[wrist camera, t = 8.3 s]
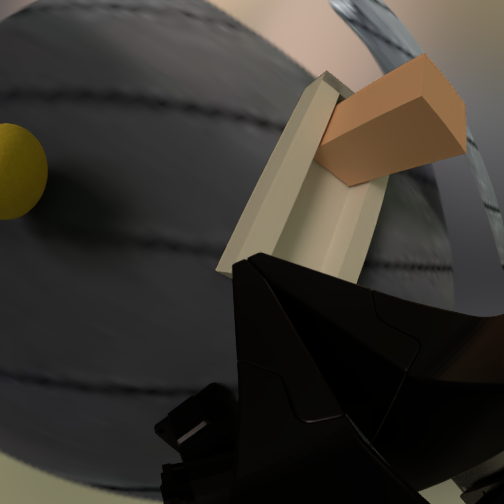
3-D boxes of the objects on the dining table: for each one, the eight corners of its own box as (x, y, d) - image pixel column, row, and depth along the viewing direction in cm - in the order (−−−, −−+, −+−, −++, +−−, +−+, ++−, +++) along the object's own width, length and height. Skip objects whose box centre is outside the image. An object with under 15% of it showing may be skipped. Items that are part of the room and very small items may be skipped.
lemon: (68, 205, 17) (33, 175, 10) (7, 238, 15) (-50, 228, 8) (50, 139, 17) (18, 84, 9) (-9, 171, 15) (-60, 134, 7)
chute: (314, 318, 24) (340, 325, 21) (215, 270, 21) (230, 272, 18) (375, 143, 28) (398, 134, 25) (306, 87, 25) (326, 70, 22)
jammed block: (349, 186, 25) (466, 153, 14) (306, 154, 23) (421, 95, 12) (362, 145, 26) (465, 104, 15) (323, 113, 24) (424, 53, 13)
